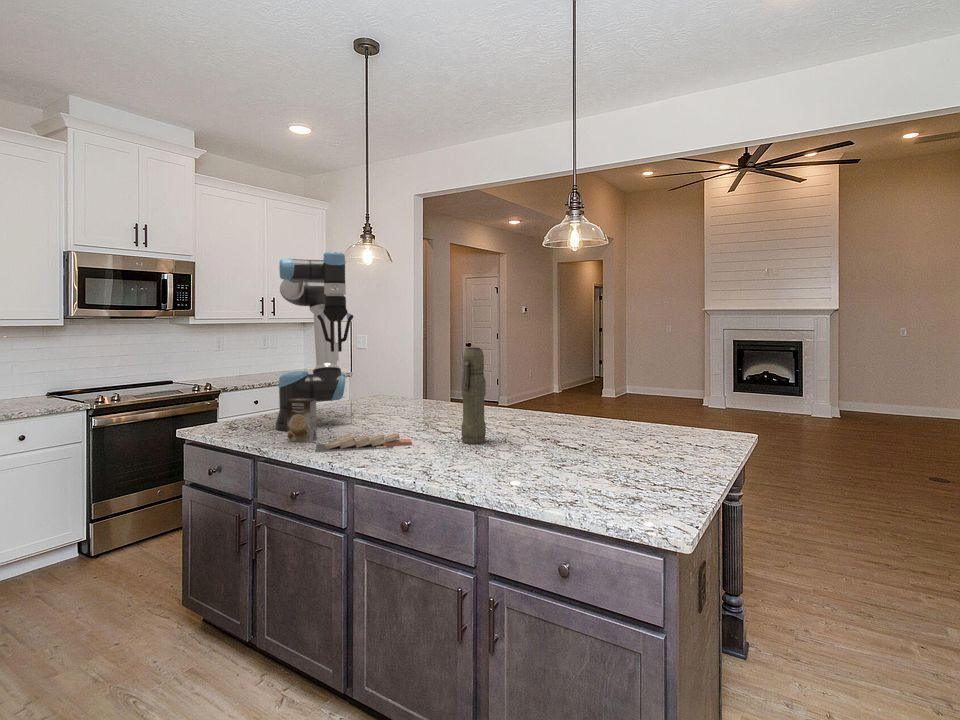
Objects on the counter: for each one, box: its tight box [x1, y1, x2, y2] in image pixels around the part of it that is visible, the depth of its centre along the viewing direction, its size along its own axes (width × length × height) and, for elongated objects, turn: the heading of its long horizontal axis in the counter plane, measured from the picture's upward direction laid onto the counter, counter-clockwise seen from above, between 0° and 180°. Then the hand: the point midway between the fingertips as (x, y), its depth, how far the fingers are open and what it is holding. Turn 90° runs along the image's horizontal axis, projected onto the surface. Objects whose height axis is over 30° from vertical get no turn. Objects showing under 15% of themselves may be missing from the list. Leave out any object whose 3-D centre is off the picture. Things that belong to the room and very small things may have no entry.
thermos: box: [461, 346, 487, 445], centre depth 204 cm, size 9×12×35 cm
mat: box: [314, 443, 394, 453], centre depth 197 cm, size 12×26×1 cm, turn 104°
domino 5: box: [383, 438, 413, 447], centre depth 200 cm, size 5×1×10 cm
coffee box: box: [286, 398, 317, 444], centre depth 205 cm, size 9×6×16 cm
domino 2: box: [340, 434, 369, 449], centre depth 196 cm, size 5×1×10 cm
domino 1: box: [325, 434, 356, 450], centre depth 195 cm, size 5×1×10 cm
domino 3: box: [356, 433, 384, 448], centre depth 197 cm, size 5×1×10 cm
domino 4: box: [371, 432, 401, 447], centre depth 199 cm, size 5×1×10 cm
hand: (336, 360), depth 201 cm, fingers closed
